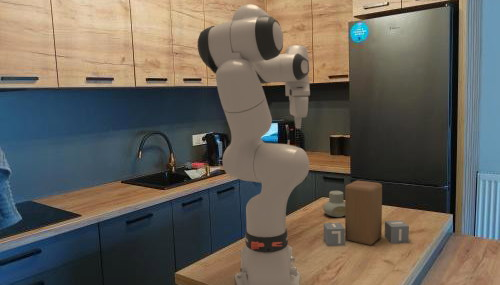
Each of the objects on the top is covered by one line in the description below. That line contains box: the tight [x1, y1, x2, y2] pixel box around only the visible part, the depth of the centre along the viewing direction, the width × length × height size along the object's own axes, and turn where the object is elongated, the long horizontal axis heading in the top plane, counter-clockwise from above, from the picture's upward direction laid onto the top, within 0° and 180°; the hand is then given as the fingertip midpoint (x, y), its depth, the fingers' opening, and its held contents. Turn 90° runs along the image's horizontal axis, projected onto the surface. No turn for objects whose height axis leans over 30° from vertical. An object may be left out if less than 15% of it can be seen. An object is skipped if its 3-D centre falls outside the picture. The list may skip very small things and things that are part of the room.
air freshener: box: [322, 190, 345, 218], centre depth 162 cm, size 11×8×10 cm
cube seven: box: [323, 222, 346, 247], centre depth 134 cm, size 6×6×6 cm
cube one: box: [384, 219, 410, 244], centre depth 134 cm, size 6×6×6 cm
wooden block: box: [344, 179, 383, 246], centre depth 135 cm, size 10×10×20 cm
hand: (298, 128), depth 143 cm, fingers closed
